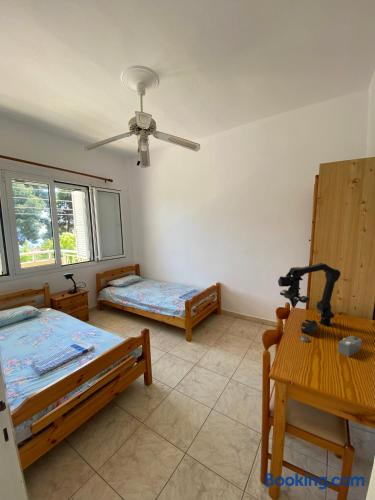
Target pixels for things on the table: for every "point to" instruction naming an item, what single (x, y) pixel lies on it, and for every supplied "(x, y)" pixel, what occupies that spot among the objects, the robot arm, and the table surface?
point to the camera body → (349, 345)
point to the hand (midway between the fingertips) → (293, 307)
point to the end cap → (309, 327)
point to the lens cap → (304, 339)
